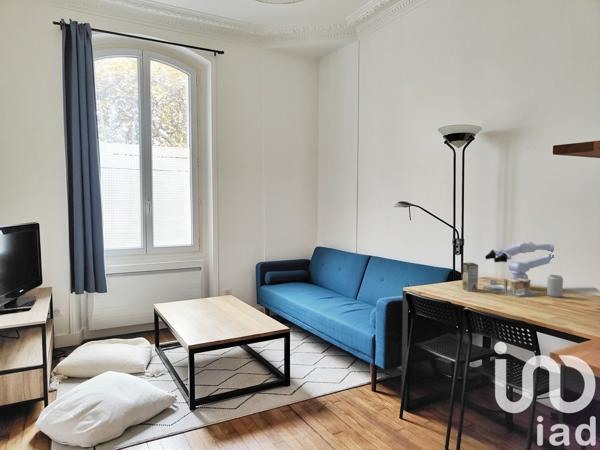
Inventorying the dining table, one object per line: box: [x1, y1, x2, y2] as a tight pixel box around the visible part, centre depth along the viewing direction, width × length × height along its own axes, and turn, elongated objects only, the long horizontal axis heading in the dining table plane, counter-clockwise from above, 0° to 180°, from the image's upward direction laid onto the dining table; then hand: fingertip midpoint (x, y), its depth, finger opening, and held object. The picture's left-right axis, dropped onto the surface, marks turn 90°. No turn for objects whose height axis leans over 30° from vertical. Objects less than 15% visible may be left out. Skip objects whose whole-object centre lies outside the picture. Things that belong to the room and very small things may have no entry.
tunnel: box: [503, 278, 531, 293], centre depth 248 cm, size 13×7×7 cm, turn 111°
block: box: [510, 282, 523, 291], centre depth 248 cm, size 4×4×4 cm
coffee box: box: [461, 262, 479, 292], centre depth 258 cm, size 9×6×16 cm
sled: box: [488, 278, 525, 292], centre depth 255 cm, size 5×22×4 cm, turn 21°
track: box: [482, 283, 539, 298], centre depth 253 cm, size 14×27×2 cm, turn 21°
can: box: [546, 274, 564, 298], centre depth 241 cm, size 8×8×12 cm
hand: (490, 259), depth 261 cm, fingers open, 7 cm apart
